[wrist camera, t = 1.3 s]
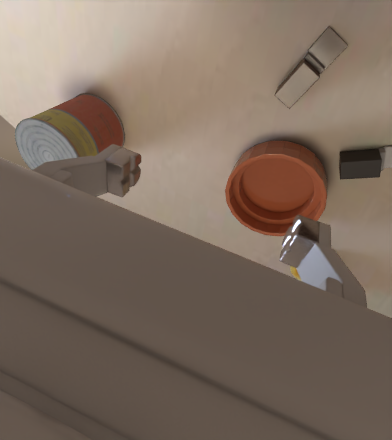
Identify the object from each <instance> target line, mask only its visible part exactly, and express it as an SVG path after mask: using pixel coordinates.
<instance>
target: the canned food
mask: <svg viewBox="0 0 392 440" xmlns="http://www.w3.org/2000/svg"><path fill="white" fill-rule="evenodd" d="M15 140H16V144H17V147H18V150H19V152H20V154H21V156H22V158H23V160H24V161H25V163H26V164H27V165H28V166H29V168H30V169H31V170H33V169H35V168H37V167H38V166H40V165H42V164H43V163H45V162H49V161H56V160H63V159H70V158H77V157H85V156H96V155H97V154H99V153H100V152H101V151H103V150H104V149H106V148H107V147H109V146H110V145H111V144H115V145H118V146H121V147H123V145H124V140H125V135H124V129H123V126H122V123H121V121H120V119H119V117H118V115H117V114H116V112H115V111H114V110H113V108H112V107H111V106H110V105H109V104H108V103H107V102H105V101H104V100H102V99H101V98H99V97H97V96H95V95H91V94H81V95H78V96H76V97H75V98H73V99H71V100H69V101H67V102H64V103H62V104H60V105H58V106H55V107H53V108H51V109H49V110H47V111H44V112H42V113H40V114H38V115H35V116H33V117H31V118H28V119H24V120H22V121H21V122H20V123H19V124H18V125H17V127H16V130H15Z"/></svg>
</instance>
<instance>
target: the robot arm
mask: <svg viewBox="0 0 392 440" xmlns="http://www.w3.org/2000/svg"><path fill="white" fill-rule="evenodd" d="M140 163H141V155H140V154H138V153H136V152H133V151H131V150H128V149H126V148H123V147H121V146H118V145H115V144H111V145H110V146H109V147H107V148H106V149H104V150H103V151H101V152H100V153H99V154H97V155H96V156H85V157H77V158H70V159H63V160H56V161H49V162H45V163H43V164H42V165H40V166H38V167H37V168H35V169H33V170H30V169H27V168H25V167H22V166H20V165H17V164H15V163H12V162H10V161H7V160H5V159H3V158H0V440H392V318H390V317H388V316H385V315H383V314H380V313H378V312H375V311H373V310H371V309H368V308H367V303H366V295H365V290H364V289H363V287H362V286H361V285H360V283H359V282H358V281H357V279H356V278H355V277H354V275H353V274H352V273H351V271H350V270H349V269H348V267H347V266H346V265H345V263H344V262H343V261H342V259H341V258H340V257H339V256H338V254H337V253H336V252H335V250H334V249H331V227H330V225H327V224H325V223H322V222H318V221H315V220H313V219H310V218H307V217H304V216H301V215H299V214H297V215H296V217H295V218H294V220H293V225H292V226H290V227H289V228H288V230H287V232H286V234H285V236H284V239H283V243H282V245H283V249H282V251H281V255H280V261H281V262H283V263H285V264H288V265H290V266H292V267H294V268H297V272H298V274H299V276H300V278H301V281H300V280H298V279H295V278H293V277H290V276H288V275H285V274H283V273H281V272H278V271H276V270H273V269H271V268H268V267H266V266H264V265H261V264H259V263H256V262H254V261H251V260H249V259H246V258H244V257H242V256H239V255H237V254H234V253H232V252H229V251H227V250H225V249H222V248H220V247H217V246H215V245H212V244H210V243H207V242H205V241H203V240H200V239H198V238H195V237H193V236H190V235H188V234H186V233H183V232H181V231H178V230H176V229H173V228H171V227H168V226H166V225H164V224H161V223H159V222H156V221H154V220H151V219H149V218H147V217H144V216H142V215H139V214H137V213H134V212H132V211H129V210H127V209H125V208H122V207H120V206H117V205H115V204H112V203H110V202H108V201H105V200H103V199H100V198H98V197H96V196H99V195H102V194H105V193H107V192H109V193H112V194H115V195H117V196H120V197H123V196H124V195H125V194H126V193H127V192H128V191H129V187H132V186H134V185H135V184H136V183H137V181H138V179H139V177H140V171H141V169H140V167H139V166H138V165H139V164H140Z"/></svg>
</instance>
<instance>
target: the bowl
mask: <svg viewBox="0 0 392 440" xmlns="http://www.w3.org/2000/svg"><path fill="white" fill-rule="evenodd" d="M225 193H226V201H227V204H228V206H229V208H230V210H231V212H232V214H233V215H234V216H235V217H236V218H237V220H238V221H239V222H240V223H241V224H243V225H245V226H246V227H248V228H249V229H251V230H253V231H256V232H259V233H261V234H264V235H271V236H285V234H286V232H287V230H288V228H289V227H290V226H292V225H293V220H294V218H295V217H296V215H297V214H299V215H301V216H304V217H307V218H310V219H313V220H315V221H318V219H319V218H320V216H321V214H322V213H323V211H324V209H325V206H326V199H327V178H326V174H325V170H324V166H323V165H322V163H321V162H320V161H319V159H318V158H317V157H316V155H315V154H314V153H312V152H311V151H309V150H308V149H306V148H305V147H303V146H302V145H299V144H295V143H292V142H288V141H267V142H264V143H261V144H258V145H255V146H253V147H252V148H250V149H249V150H248V151H246V152H245V153H243V154H242V156H241V157H240V159H239V160H238V161H237V163H236V164H235V166H234V168H233V170H232V172H231V174H230V176H229V178H228V181H227V185H226V189H225Z"/></svg>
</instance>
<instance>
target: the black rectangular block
mask: <svg viewBox="0 0 392 440" xmlns="http://www.w3.org/2000/svg"><path fill="white" fill-rule="evenodd" d="M384 168H392V146H384V148H379V149H369V150H358V151H347V152H340V163H339V170H340V179H355V178H373V177H380V172H381V171H382V170H383V169H384Z"/></svg>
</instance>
